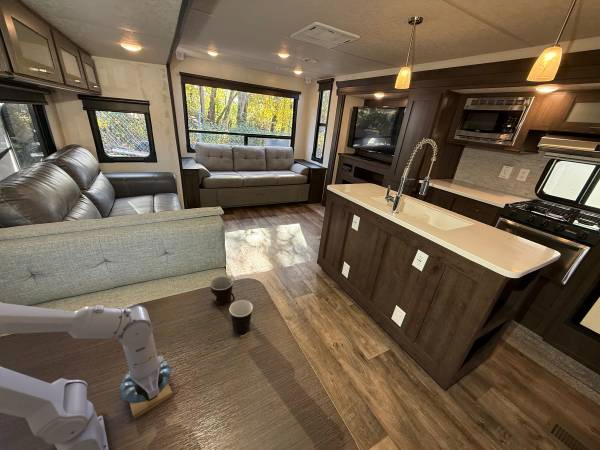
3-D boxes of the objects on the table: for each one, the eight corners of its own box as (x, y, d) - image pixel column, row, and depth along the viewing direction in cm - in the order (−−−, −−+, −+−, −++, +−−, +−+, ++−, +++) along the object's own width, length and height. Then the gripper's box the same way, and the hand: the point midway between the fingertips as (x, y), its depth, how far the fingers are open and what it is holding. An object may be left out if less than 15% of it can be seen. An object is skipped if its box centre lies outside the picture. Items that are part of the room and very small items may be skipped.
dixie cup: (254, 337, 86) (255, 313, 82) (231, 343, 83) (230, 318, 79) (250, 321, 93) (250, 298, 89) (228, 325, 90) (227, 302, 86)
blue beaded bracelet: (177, 385, 65) (175, 377, 64) (127, 416, 58) (124, 408, 57) (163, 356, 72) (161, 349, 71) (117, 380, 65) (114, 373, 64)
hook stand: (172, 395, 67) (169, 380, 64) (134, 419, 61) (129, 403, 58) (162, 370, 73) (159, 356, 70) (126, 390, 67) (121, 375, 64)
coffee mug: (210, 298, 102) (208, 278, 98) (231, 294, 106) (230, 274, 102) (213, 318, 93) (212, 297, 89) (236, 312, 96) (236, 292, 92)
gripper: (170, 366, 54) (177, 404, 60) (152, 326, 64) (159, 362, 69) (133, 386, 50) (144, 426, 55) (119, 340, 59) (129, 377, 65)
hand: (150, 391), depth 62 cm, fingers closed on blue beaded bracelet, 3 cm apart
